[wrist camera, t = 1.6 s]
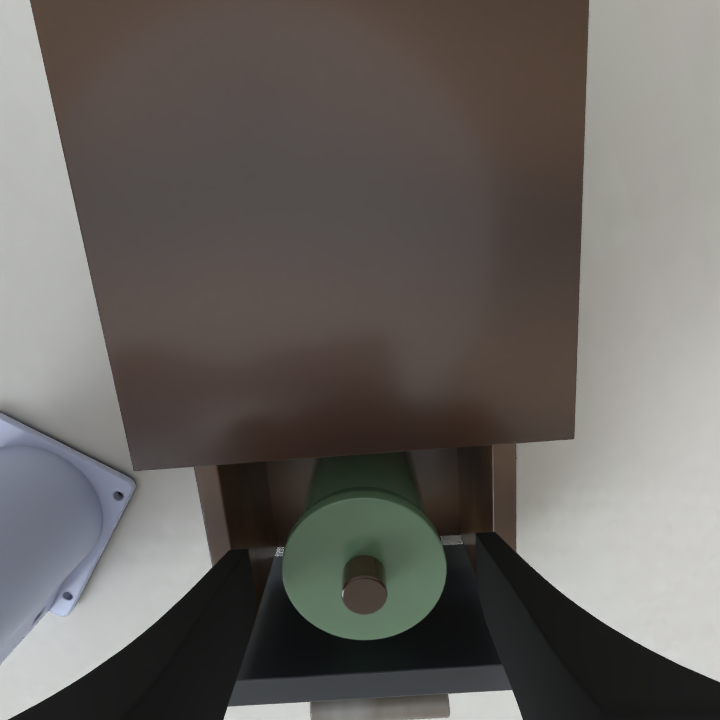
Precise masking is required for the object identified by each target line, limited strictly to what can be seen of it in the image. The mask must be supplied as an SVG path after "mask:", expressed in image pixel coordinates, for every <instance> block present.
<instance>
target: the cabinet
mask: <svg viewBox="0 0 720 720" xmlns="http://www.w3.org/2000/svg"><path fill="white" fill-rule="evenodd" d="M30 3H31V7H32V12H33V16H34V21H35V25H36V30H37V34H38V39H39V43H40V48H41V53H42V57H43V62H44V66H45V71H46V75H47V80H48V84H49V89H50V93H51V98H52V102H53V107H54V112H55V116H56V121H57V125H58V130H59V134H60V139H61V143H62V148H63V152H64V157H65V161H66V166H67V170H68V175H69V180H70V184H71V189H72V193H73V198H74V202H75V207H76V211H77V216H78V220H79V225H80V229H81V234H82V238H83V243H84V248H85V252H86V257H87V261H88V266H89V270H90V275H91V279H92V284H93V288H94V293H95V297H96V302H97V307H98V311H99V316H100V320H101V325H102V329H103V334H104V338H105V343H106V347H107V352H108V356H109V361H110V365H111V370H112V375H113V379H114V384H115V388H116V393H117V397H118V402H119V406H120V411H121V415H122V420H123V424H124V429H125V433H126V438H127V443H128V447H129V452H130V456H131V461H132V465H133V470H134V471H142V470H155V469H169V468H183V467H197V466H210V465H224V464H238V463H252V462H265V461H279V460H293V459H307V458H320V457H334V456H348V455H362V454H375V453H389V452H403V451H417V450H430V449H444V448H458V447H472V446H485V445H499V444H513V443H527V442H540V441H554V440H568V439H574V432H575V402H576V373H577V343H578V314H579V284H580V254H581V225H582V195H583V165H584V136H585V106H586V77H587V47H588V17H589V0H30Z"/></svg>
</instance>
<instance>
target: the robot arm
mask: <svg viewBox="0 0 720 720" xmlns="http://www.w3.org/2000/svg"><path fill="white" fill-rule="evenodd" d="M135 487H136V486H135V482H134V481H133V480H132V479H131V478H130V477H128V476H126V475H124V474H122V473H120V472H118V471H116V470H114V469H112V468H110V467H108V466H106V465H104V464H102V463H100V462H98V461H96V460H94V459H92V458H90V457H88V456H86V455H84V454H82V453H80V452H78V451H76V450H74V449H72V448H70V447H68V446H66V445H64V444H62V443H60V442H58V441H56V440H54V439H52V438H50V437H48V436H46V435H44V434H42V433H40V432H38V431H36V430H34V429H32V428H30V427H28V426H26V425H24V424H22V423H20V422H18V421H16V420H14V419H12V418H10V417H8V416H6V415H4V414H2V413H0V664H1V663H2V662H3V661H4V660H5V659H6V658H7V656H8V655H9V654H10V653H11V652H12V651H13V650H14V649H15V648H16V646H17V645H18V644H19V643H20V642H21V641H22V640H23V639H24V638H25V636H26V635H27V634H28V633H29V632H30V631H31V630H32V629H33V627H34V626H35V625H36V624H37V623H38V622H39V621H40V620H41V619H42V617H43V616H44V615H45V614H46V613H47V612H48V611H50V612H52V613H54V614H56V615H59V616H67V615H69V613H70V612H71V611H72V610H73V609H74V607H75V605H76V603H77V601H78V599H79V597H80V595H81V593H82V591H83V589H84V588H85V586H86V584H87V582H88V580H89V578H90V576H91V574H92V572H93V570H94V568H95V566H96V564H97V562H98V560H99V558H100V556H101V554H102V552H103V550H104V549H105V547H106V545H107V543H108V541H109V539H110V537H111V535H112V533H113V531H114V529H115V527H116V525H117V523H118V521H119V519H120V517H121V515H122V513H123V511H124V510H125V508H126V506H127V504H128V502H129V500H130V498H131V496H132V494H133V492H134V490H135ZM118 492H121V493H122V494H123V496H124V497H122V496H120V495H119V494H118ZM475 534H476V571H477V591H478V595H479V599H480V602H481V606H482V610H483V614H484V617H485V621H486V624H487V626H488V629H489V632H490V634H491V637H492V639H493V642H494V645H495V647H496V650H497V652H498V655H499V657H500V660H501V662H502V665H503V667H504V670H505V673H506V675H507V678H508V680H509V683H510V685H511V688H512V690H513V693H514V695H515V698H516V701H517V704H518V706H519V709H520V712H521V715H522V718H523V720H720V682H718V681H715V680H713V679H711V678H708V677H706V676H704V675H702V674H699V673H697V672H695V671H692V670H690V669H688V668H685V667H683V666H681V665H679V664H677V663H675V662H673V661H671V660H669V659H667V658H665V657H663V656H661V655H659V654H657V653H655V652H653V651H651V650H649V649H647V648H645V647H644V646H642V645H640V644H638V643H636V642H634V641H633V640H631V639H629V638H628V637H626V636H624V635H623V634H621V633H619V632H617V631H616V630H614V629H612V628H611V627H609V626H608V625H606V624H604V623H603V622H601V621H600V620H598V619H597V618H595V617H594V616H592V615H591V614H590V613H588V612H587V611H585V610H584V609H582V608H581V607H579V606H578V605H577V604H575V603H574V602H573V601H571V600H570V599H569V598H567V597H566V596H565V595H564V594H562V593H561V592H560V591H559V590H557V589H556V588H555V587H554V586H552V585H551V584H550V583H549V582H548V581H547V580H545V579H544V578H543V577H542V576H541V575H540V574H539V573H538V572H536V571H535V570H534V569H533V568H532V567H531V566H530V565H529V564H528V563H527V562H526V561H525V560H523V559H522V558H521V557H520V556H519V555H518V554H517V553H516V552H515V551H514V550H513V549H512V548H511V547H510V546H509V545H508V544H507V543H506V542H505V541H504V540H503V539H502V538H501V537H500V536H499V535H498V534H497V533H496V532H485V533H475ZM69 592H70V593H71V594H70V593H69ZM256 607H257V599H256V593H255V587H254V581H253V575H252V569H251V563H250V557H249V551H248V549H238V550H229V551H228V552H227V553H226V554H225V555H224V556H223V557H222V558H221V559H220V560H219V561H218V562H217V563H216V564H215V565H214V566H213V567H212V568H211V569H210V570H209V572H208V573H207V574H206V575H205V576H204V577H203V578H202V579H201V580H200V581H199V582H198V583H197V584H196V585H195V586H194V587H193V588H192V589H191V590H190V591H189V592H188V593H187V594H186V595H185V596H184V597H183V598H182V599H181V600H180V601H178V602H177V603H176V604H175V605H174V606H173V607H172V608H171V609H170V610H169V611H168V612H167V613H166V614H165V615H163V616H162V617H161V618H160V619H159V620H158V621H157V622H156V623H155V624H153V625H152V626H151V627H150V628H149V629H147V630H146V631H145V632H144V633H143V634H141V635H140V636H139V637H138V638H136V639H135V640H134V641H133V642H131V643H130V644H129V645H127V646H126V647H125V648H123V649H122V650H121V651H119V652H118V653H117V654H115V655H114V656H112V657H111V658H109V659H108V660H107V661H105V662H104V663H102V664H101V665H99V666H98V667H97V668H95V669H94V670H92V671H91V672H89V673H88V674H86V675H85V676H83V677H82V678H80V679H79V680H77V681H75V682H74V683H72V684H71V685H69V686H67V687H66V688H64V689H62V690H61V691H59V692H57V693H56V694H54V695H52V696H51V697H49V698H47V699H46V700H44V701H42V702H40V703H39V704H37V705H35V706H33V707H31V708H29V709H27V710H25V711H24V712H22V713H20V714H18V715H16V716H14V717H12V718H10V719H8V720H223V719H224V716H225V713H226V710H227V707H228V704H229V701H230V698H231V695H232V692H233V689H234V686H235V683H236V680H237V677H238V674H239V671H240V668H241V665H242V661H243V658H244V655H245V652H246V649H247V646H248V643H249V640H250V636H251V632H252V627H253V622H254V617H255V612H256Z"/></svg>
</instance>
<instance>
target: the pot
mask: <svg viewBox="0 0 720 720" xmlns="http://www.w3.org/2000/svg"><path fill="white" fill-rule="evenodd" d="M446 575H447V562H446V556H445V551H444V548H443V544H442V541H441V538H440V536H439V534H438V532H437V530H436V528H435V527H434V525H433V524H432V522H431V521H430V520H429V518H428V516H427V512H426V508H425V504H424V500H423V496H422V492H421V488H420V484H419V480H418V476H417V472H416V468H415V464H414V461H413V458H412V456H411V454H410V452H409V451H403V452H389V453H375V454H362V455H348V456H334V457H320V458H315V460H314V463H313V467H312V471H311V475H310V479H309V483H308V487H307V491H306V496H305V500H304V504H303V508H302V512H301V516H300V519H299V520H298V521H297V523H296V524H295V525H294V527H293V528H292V530H291V532H290V534H289V536H288V539H287V542H286V545H285V549H284V553H283V558H282V579H283V583H284V587H285V590H286V592H287V595H288V597H289V599H290V600H291V602H292V604H293V605H294V607H295V608H296V609H297V610H298V612H299V613H300V614H301V615H302V616H303V617H304V618H305V619H306V620H307V621H309V622H310V623H312V624H313V625H314V626H316V627H318V628H319V629H321V630H323V631H325V632H327V633H330V634H332V635H335V636H339V637H342V638H347V639H353V640H376V639H382V638H387V637H390V636H394V635H397V634H399V633H402V632H404V631H406V630H408V629H410V628H412V627H413V626H415V625H416V624H417V623H419V622H420V621H421V620H422V619H424V618H425V617H426V616H427V615H428V614H429V613H430V611H431V610H432V609H433V608H434V606H435V605H436V603H437V602H438V600H439V598H440V596H441V594H442V592H443V589H444V585H445V582H446Z"/></svg>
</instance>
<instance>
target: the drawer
mask: <svg viewBox="0 0 720 720" xmlns="http://www.w3.org/2000/svg"><path fill="white" fill-rule="evenodd" d="M409 452H410V454H411V456H412V458H413V461H414V464H415V468H416V472H417V476H418V480H419V484H420V488H421V492H422V496H423V500H424V504H425V508H426V512H427V516H428V518H429V520H430V521H431V522H432V524H433V525H434V527H435V528H436V530H437V532H438V534H439V536H446V535H461V537H462V540H463V543H464V544H457V545H443V548H444V551H445V556H446V562H447V575H446V582H445V585H444V589H443V592H442V594H441V596H440V598H439V600H438V602H437V603H436V605H435V606H434V608H433V609H432V610H431V611H430V613H429V614H428V615H427V616H426V617H425V618H424V619H422V620H421V621H420V622H419V623H417V624H416V625H415V626H413V627H412V628H410V629H408V630H406V631H404V632H402V633H399V634H397V635H394V636H390V637H387V638H382V639H376V640H353V639H347V638H342V637H339V636H335V635H332V634H330V633H327V632H325V631H323V630H321V629H319V628H318V627H316V626H314V625H313V624H312V623H310V622H309V621H307V620H306V619H305V618H304V617H303V616H302V615H301V614H300V613H299V612H298V610H297V609H296V608H295V607H294V605H293V604H292V602H291V600H290V599H289V597H288V595H287V592H286V590H285V587H284V583H283V579H282V558H283V556H278V557H274V556H275V553H276V550H277V547H284V546H285V545H286V542H287V539H288V536H289V534H290V532H291V530H292V528H293V527H294V525H295V524H296V523H297V521H298V520H299V519H300V516H301V512H302V508H303V504H304V500H305V496H306V491H307V487H308V483H309V479H310V475H311V471H312V467H313V463H314V460H315V458H307V459H293V460H279V461H265V462H252V463H238V464H224V465H210V466H197V467H194V470H195V475H196V481H197V486H198V491H199V497H200V502H201V508H202V513H203V518H204V524H205V529H206V535H207V540H208V545H209V551H210V556H211V562H212V567H213V566H214V565H215V564H216V563H217V562H218V561H219V560H220V559H221V558H222V557H223V556H224V555H225V554H226V553H227V552H228V551H229V550H238V549H248V551H249V557H250V563H251V569H252V575H253V581H254V587H255V593H256V599H257V607H256V612H255V617H254V622H253V627H252V632H251V636H250V640H249V643H248V646H247V649H246V652H245V655H244V658H243V661H242V665H241V668H240V671H239V674H238V677H237V680H236V683H235V686H234V689H233V692H232V695H231V698H230V701H229V704H228V706H245V705H262V704H279V703H297V702H310V716H311V720H413V719H431V718H448V717H449V716H450V707H449V698H448V694H451V693H468V692H485V691H502V690H512V688H511V685H510V683H509V680H508V678H507V675H506V673H505V670H504V667H503V665H502V662H501V660H500V657H499V655H498V652H497V650H496V647H495V645H494V642H493V639H492V637H491V634H490V632H489V629H488V626H487V624H486V621H485V617H484V614H483V610H482V606H481V602H480V599H479V595H478V591H477V571H476V534H475V533H485V532H496V533H497V534H498V535H499V536H500V537H501V538H502V539H503V540H504V541H505V542H506V543H507V544H508V545H509V546H510V547H511V548H512V549H513V550H514V551H515V552H516V443H513V444H499V445H485V446H472V447H458V448H444V449H430V450H417V451H409Z"/></svg>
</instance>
